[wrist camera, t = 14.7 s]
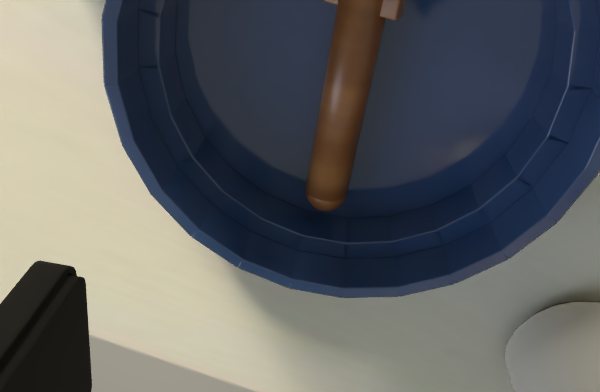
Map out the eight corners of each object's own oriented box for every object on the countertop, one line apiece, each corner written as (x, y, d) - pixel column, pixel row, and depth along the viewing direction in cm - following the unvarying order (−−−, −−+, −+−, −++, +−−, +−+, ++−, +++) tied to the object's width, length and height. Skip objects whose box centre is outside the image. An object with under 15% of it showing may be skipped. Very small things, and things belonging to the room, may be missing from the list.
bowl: (148, -250, 21) (90, -277, 16) (678, -158, 20) (761, -162, 16) (145, 200, 31) (108, 256, 26) (501, 264, 30) (523, 331, 26)
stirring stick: (355, -109, 22) (333, -110, 21) (433, -94, 21) (416, -94, 20) (303, 188, 29) (284, 204, 28) (360, 211, 28) (343, 229, 27)
